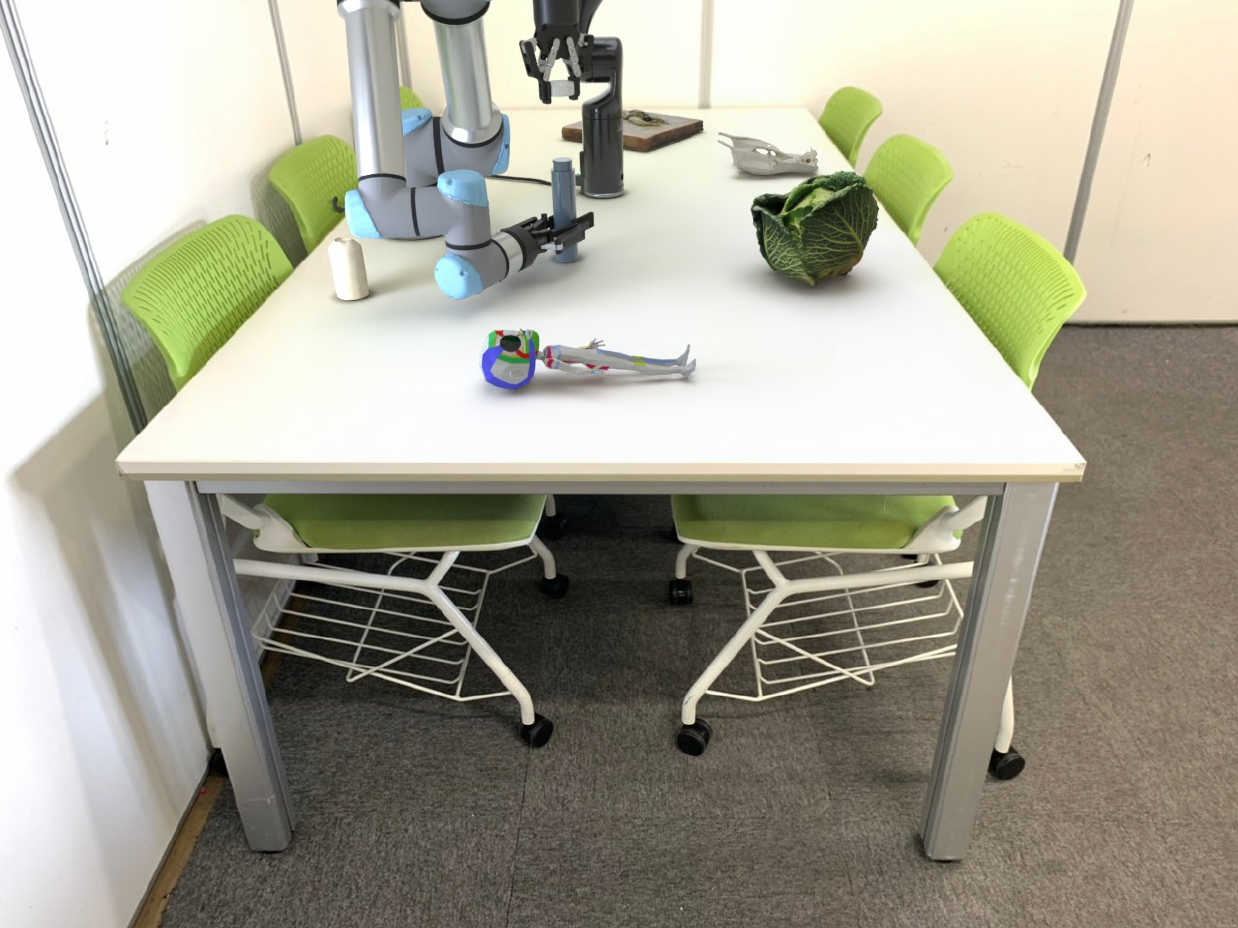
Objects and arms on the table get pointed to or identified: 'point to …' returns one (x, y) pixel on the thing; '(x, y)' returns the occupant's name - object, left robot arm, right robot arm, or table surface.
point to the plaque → (645, 129)
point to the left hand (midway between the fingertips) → (580, 217)
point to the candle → (348, 269)
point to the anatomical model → (767, 157)
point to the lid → (562, 88)
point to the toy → (561, 359)
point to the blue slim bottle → (564, 201)
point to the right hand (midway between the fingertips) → (560, 101)
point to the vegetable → (816, 226)
